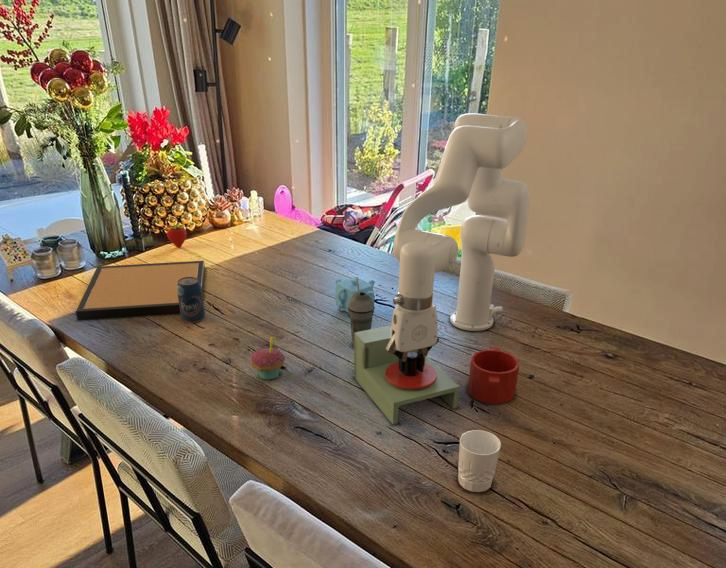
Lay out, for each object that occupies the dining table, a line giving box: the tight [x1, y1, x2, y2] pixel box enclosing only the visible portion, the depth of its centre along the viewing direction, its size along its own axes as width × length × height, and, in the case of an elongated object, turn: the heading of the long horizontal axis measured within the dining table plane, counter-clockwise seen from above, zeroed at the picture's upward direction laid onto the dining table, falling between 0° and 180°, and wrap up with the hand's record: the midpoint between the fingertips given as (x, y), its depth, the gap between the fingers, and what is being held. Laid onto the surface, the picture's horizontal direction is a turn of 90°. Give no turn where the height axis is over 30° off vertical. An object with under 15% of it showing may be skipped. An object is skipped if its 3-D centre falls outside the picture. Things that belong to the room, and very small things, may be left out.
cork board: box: [75, 260, 206, 321], centre depth 202 cm, size 36×3×35 cm
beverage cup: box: [347, 276, 375, 348], centre depth 169 cm, size 7×7×20 cm
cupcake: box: [250, 334, 286, 380], centre depth 157 cm, size 9×8×12 cm
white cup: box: [457, 429, 502, 493], centre depth 124 cm, size 8×8×10 cm
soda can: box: [176, 277, 206, 324], centre depth 184 cm, size 7×7×12 cm
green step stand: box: [353, 324, 460, 425], centre depth 151 cm, size 22×17×13 cm
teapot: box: [334, 276, 376, 314], centre depth 190 cm, size 18×14×10 cm
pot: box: [467, 346, 520, 405], centre depth 153 cm, size 11×17×8 cm
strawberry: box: [166, 222, 188, 249], centre depth 234 cm, size 6×8×10 cm
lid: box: [385, 352, 437, 389], centre depth 147 cm, size 12×12×6 cm
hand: (411, 370), depth 147 cm, fingers open, 3 cm apart
